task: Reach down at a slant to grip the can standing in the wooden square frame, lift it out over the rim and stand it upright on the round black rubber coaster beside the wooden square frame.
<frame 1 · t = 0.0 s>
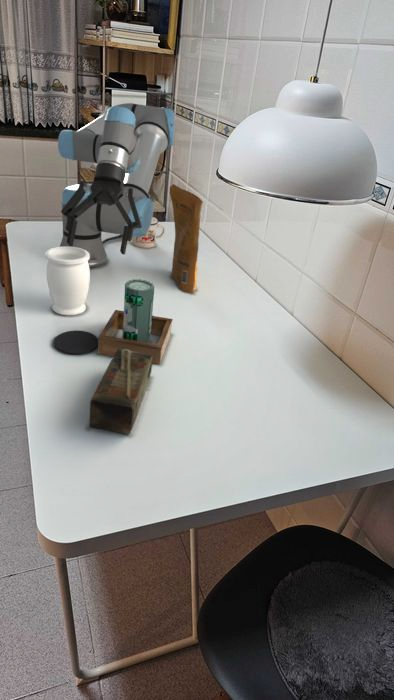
hand: (95, 248, 118), 15 cm above the table, tool tilted 35°, fingers open, 13 cm apart
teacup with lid: (147, 244, 172), on the table
beverage carton: (122, 401, 92), on the table
jar: (69, 309, 122), on the table
coaster: (76, 343, 108), on the table
can: (136, 344, 111), resting in wooden square frame
pancake mix bag: (180, 283, 145), on the table
wooden square frame: (136, 344, 111), on the table
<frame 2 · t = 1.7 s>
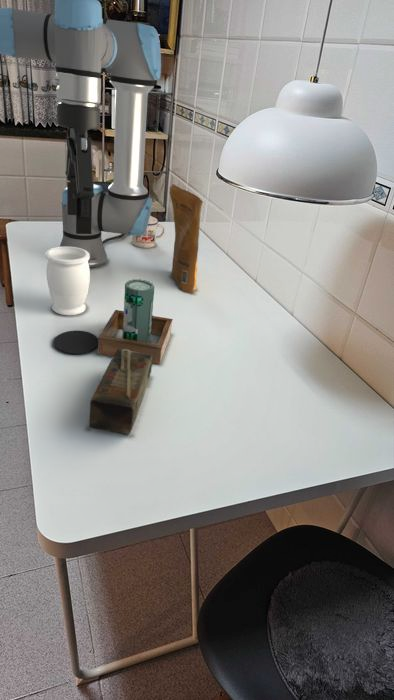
hand: (78, 223, 93), 28 cm above the table, tool pointing down, fingers open, 13 cm apart
nothing on the table moved.
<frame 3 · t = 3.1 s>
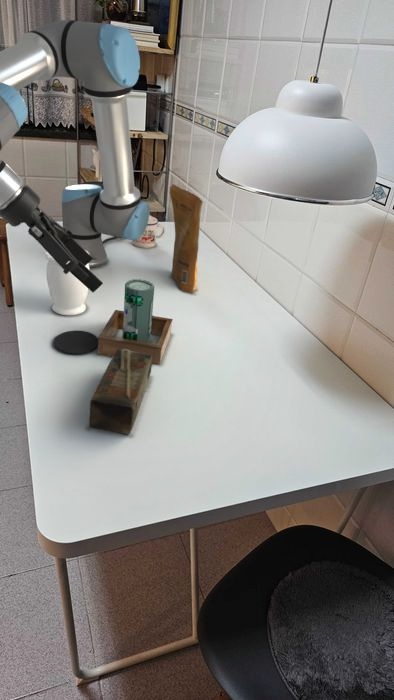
hand: (92, 274, 98), 18 cm above the table, tool tilted 45°, fingers open, 13 cm apart
nothing on the table moved.
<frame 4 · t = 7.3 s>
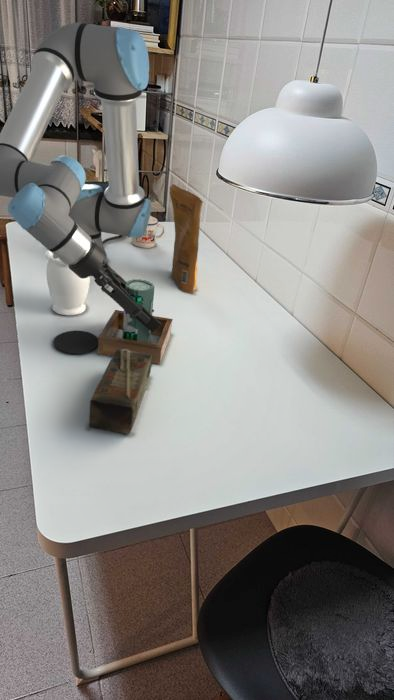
hand: (152, 320, 109), 6 cm above the table, tool tilted 45°, fingers closed on can, 6 cm apart
can: (136, 344, 111), resting in wooden square frame, touching gripper
everything else where it was.
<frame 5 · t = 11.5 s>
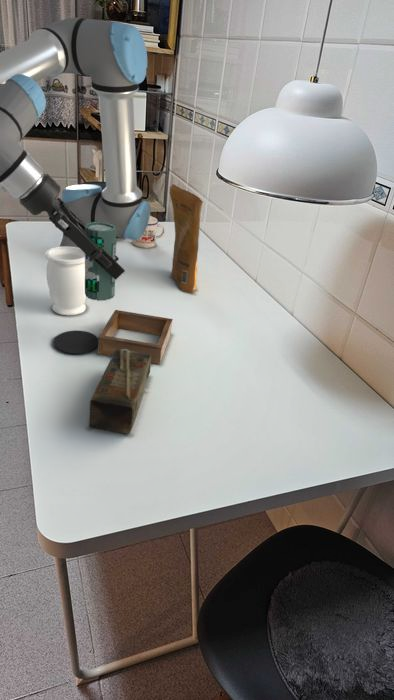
hand: (116, 268, 101), 18 cm above the table, tool tilted 45°, fingers closed on can, 6 cm apart
can: (99, 295, 103), point 12 cm above the table, touching gripper
everything else where it was.
when the fingers open (7 cm above the table, at t = 15.6 s): can stays where it is, resting on coaster.
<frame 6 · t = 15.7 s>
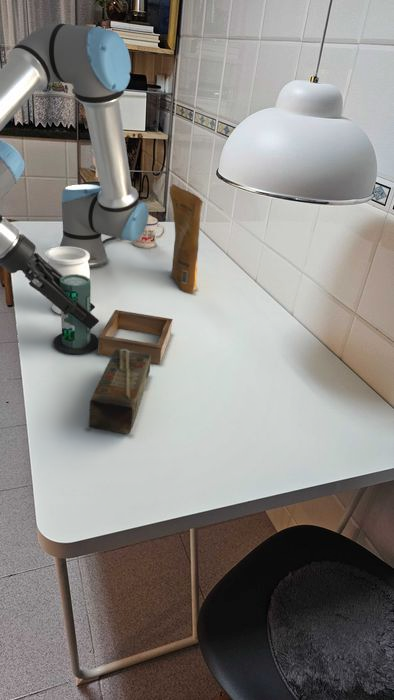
hand: (92, 317, 106), 7 cm above the table, tool tilted 45°, fingers open, 6 cm apart
can: (76, 341, 107), resting on coaster
everything else where it was.
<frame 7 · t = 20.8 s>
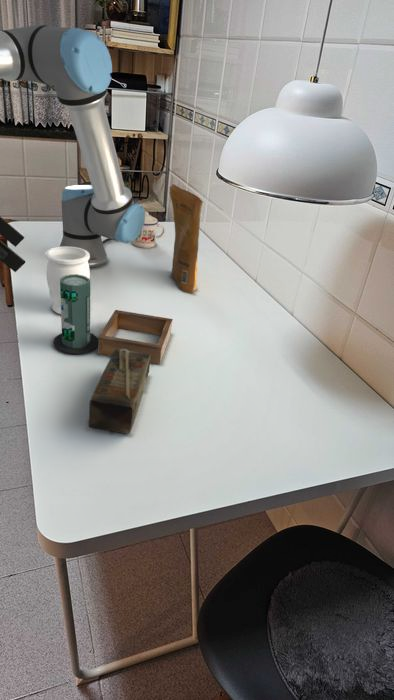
hand: (20, 253, 94), 21 cm above the table, tool tilted 45°, fingers open, 13 cm apart
nothing on the table moved.
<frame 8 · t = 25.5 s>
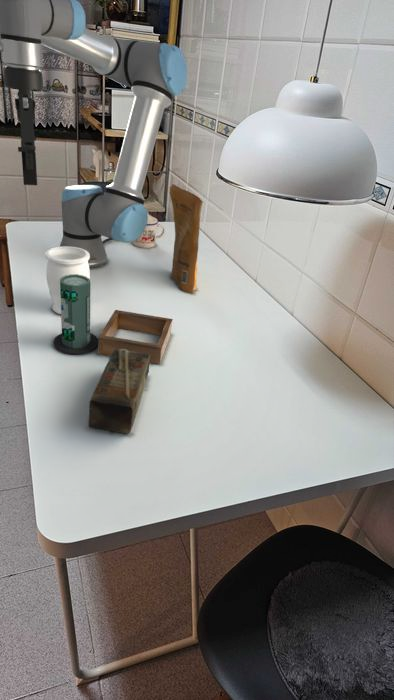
hand: (29, 177, 105), 32 cm above the table, tool pointing down, fingers open, 13 cm apart
nothing on the table moved.
at the end: can inside the target area on the coaster (0.1 cm from its centre), point 0.4 cm above the coaster's base; can tilted 0°; can touching coaster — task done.
